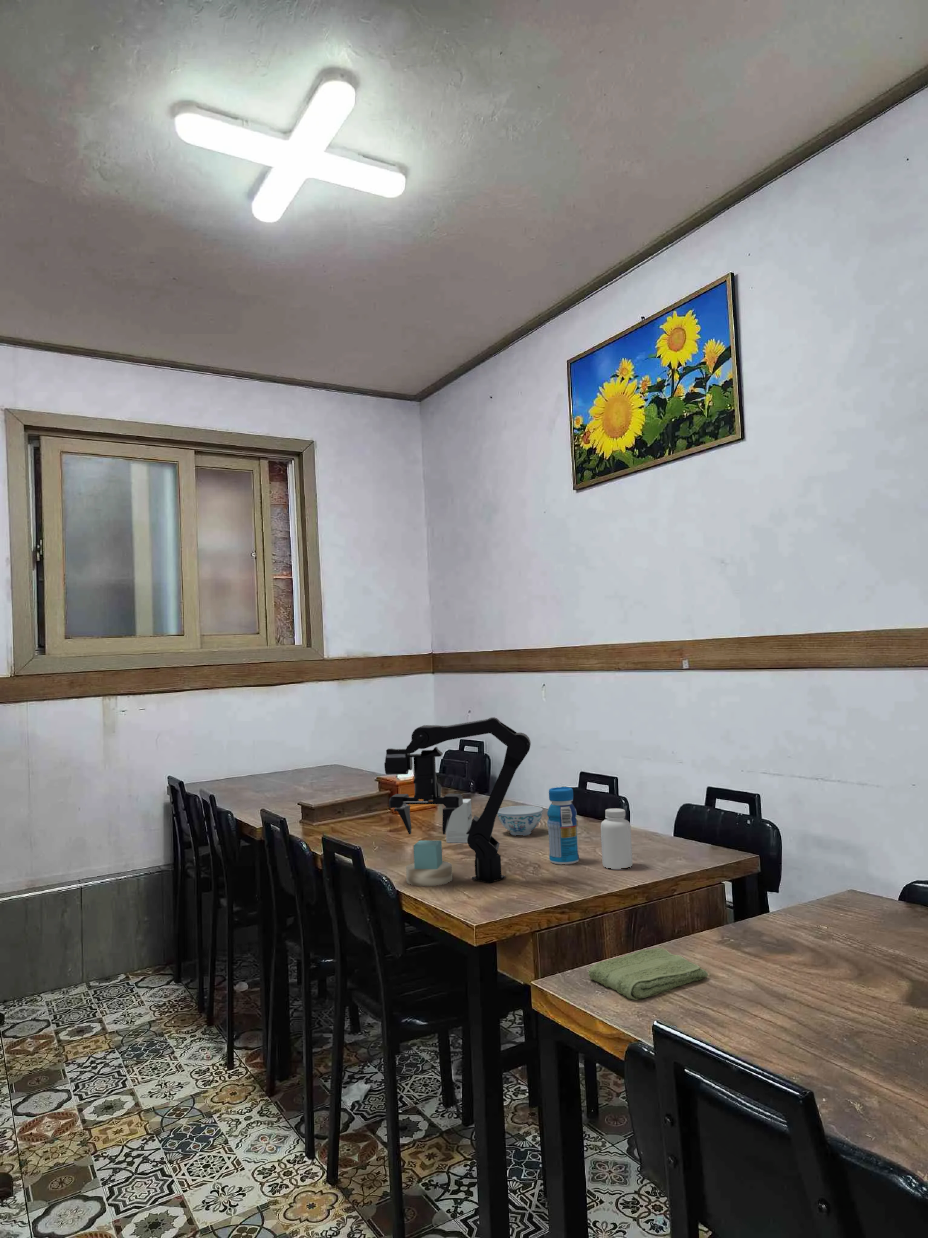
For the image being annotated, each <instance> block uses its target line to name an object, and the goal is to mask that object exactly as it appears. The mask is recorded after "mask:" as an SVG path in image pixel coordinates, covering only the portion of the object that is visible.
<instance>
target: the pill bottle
mask: <svg viewBox="0 0 928 1238" xmlns="http://www.w3.org/2000/svg"><path fill="white" fill-rule="evenodd" d="M604 811H605V813H604V814H605V819H604V820H602V821H601V823H600V836H601V837H600V838H601V839H600V841H601V860H602V861H601V862H602V866H603V868H605V867H606V868H605V869H608V868H611V869H610V870H622V869H621V868H626V867H630V868H632V867H633V850H632V849H633V847H632V828H631V827H632V825H631V823H630V821H628V819H626V810H625V809H623V808H607V809H605V810H604ZM631 866H632V867H631Z"/></svg>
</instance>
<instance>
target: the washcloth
mask: <svg viewBox="0 0 928 1238" xmlns="http://www.w3.org/2000/svg"><path fill="white" fill-rule="evenodd" d="M587 973H588V976H589V978H590V979H591V980H592V981H595V982H598V983H599V984H601V985H603V986H604V987H606V988H610V989H612V990H615V991H617V993H618V994H620V995H622V996H624V997H626V998H627V999H628V1000H634V1001H638V1000H641V999H646V998H649V997H652V996H653V997H654V996H657V995H659V994H660V993H666V992H669V991H670V990H673V989H675V988H678V987H682V986H684V985H687V984H690V983H692V982H696V981H699V980H703V979H704V978H707V977H708V976H709V974H708V971H706V970H705V969H703V968H701V966H699V965H698V964H695V963H693V962H692V961H689V960H688V959H686V958H685V957H683V956H682V955H679V954H673V953H671V952H669V951H668V950H667V949H666V948H662V947H656V948H649V949H646V948H644V949H642V950H638V951H636V952H633V953H628V954H625V955H624V956H620V957H616V958H615V957H614V958H609V959H607V960H603V961H599V962H597V963H595V964H594V965H592V966H590V968H589V970H588V972H587Z"/></svg>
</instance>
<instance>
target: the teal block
mask: <svg viewBox="0 0 928 1238" xmlns="http://www.w3.org/2000/svg"><path fill="white" fill-rule="evenodd" d="M442 847H443V843H442V840H430V839H429V840H428V839H427V840H422V839H421V840H418V841H417V842H416V843H415V844H413V860H414V861H413V863H414V869H438V868H439V867H440V865H441V864H442V861H443V848H442Z"/></svg>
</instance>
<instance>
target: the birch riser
mask: <svg viewBox="0 0 928 1238" xmlns="http://www.w3.org/2000/svg"><path fill="white" fill-rule="evenodd" d="M405 877H406V878H405V879H406V880H405V881H406V884H408V885H410V884H411V885H410V886H413V885H417V886H416V887H435V886H436V885H438V886H443V885H447V884H448V882H449V883H450V881H451V882H452V881H453V865H452V863H451V862H448V861H444V860H442V864H441V865H440V867H439V868H438V869H414V862H412V863H409V864H407V865H406V866H405ZM442 884H443V885H442Z"/></svg>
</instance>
